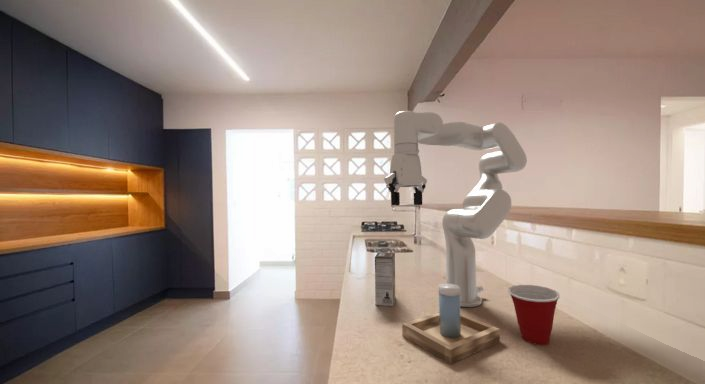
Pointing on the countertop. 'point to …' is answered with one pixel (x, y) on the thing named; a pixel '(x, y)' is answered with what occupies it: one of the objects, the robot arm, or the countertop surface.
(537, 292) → the plastic cup
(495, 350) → the countertop surface
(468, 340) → the tray
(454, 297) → the shaker
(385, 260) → the coffee box
